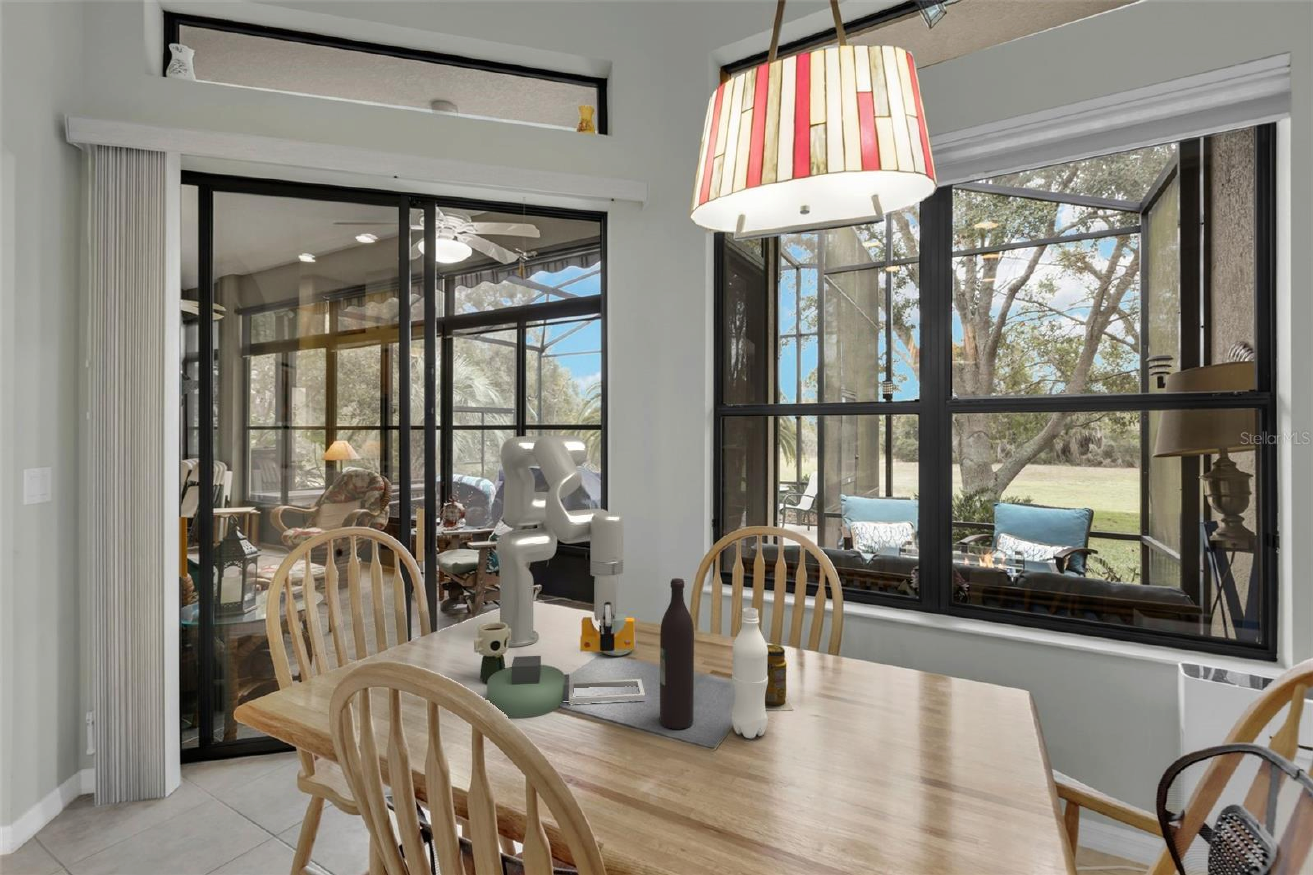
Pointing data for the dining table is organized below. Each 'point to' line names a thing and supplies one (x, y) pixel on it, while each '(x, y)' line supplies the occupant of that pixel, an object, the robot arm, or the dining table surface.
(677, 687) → the wine bottle
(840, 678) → the dining table surface
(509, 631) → the character mug
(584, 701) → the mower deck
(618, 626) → the air freshener
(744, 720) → the water bottle
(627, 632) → the pipe clamp
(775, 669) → the condiment
